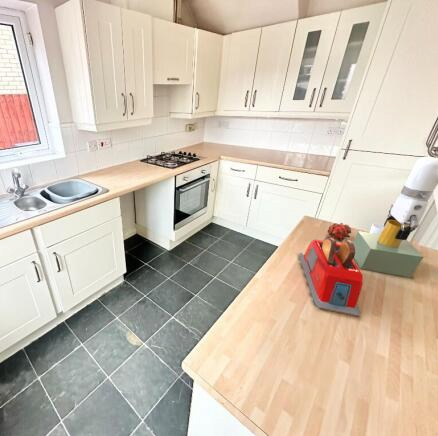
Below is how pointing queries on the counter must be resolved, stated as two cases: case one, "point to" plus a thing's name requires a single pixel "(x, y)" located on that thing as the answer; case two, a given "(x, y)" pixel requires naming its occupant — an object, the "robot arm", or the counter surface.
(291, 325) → the counter surface
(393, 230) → the cup
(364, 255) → the shelf
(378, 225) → the white cup
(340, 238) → the dragon fruit
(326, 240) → the toaster
